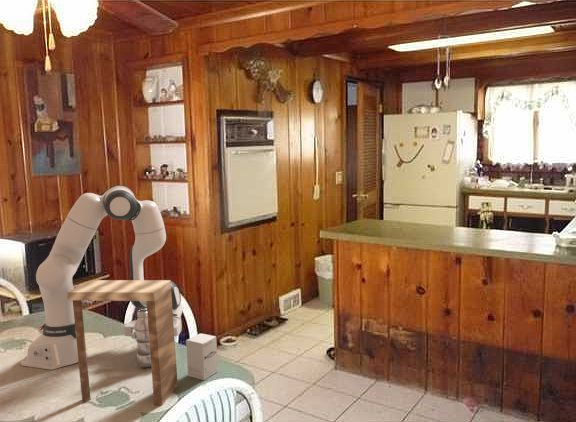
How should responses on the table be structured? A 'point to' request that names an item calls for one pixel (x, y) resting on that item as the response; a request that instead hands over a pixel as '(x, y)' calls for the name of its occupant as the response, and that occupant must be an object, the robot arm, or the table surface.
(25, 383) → the table surface
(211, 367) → the supplement box
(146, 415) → the table surface
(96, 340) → the table surface
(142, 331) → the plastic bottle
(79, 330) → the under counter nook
